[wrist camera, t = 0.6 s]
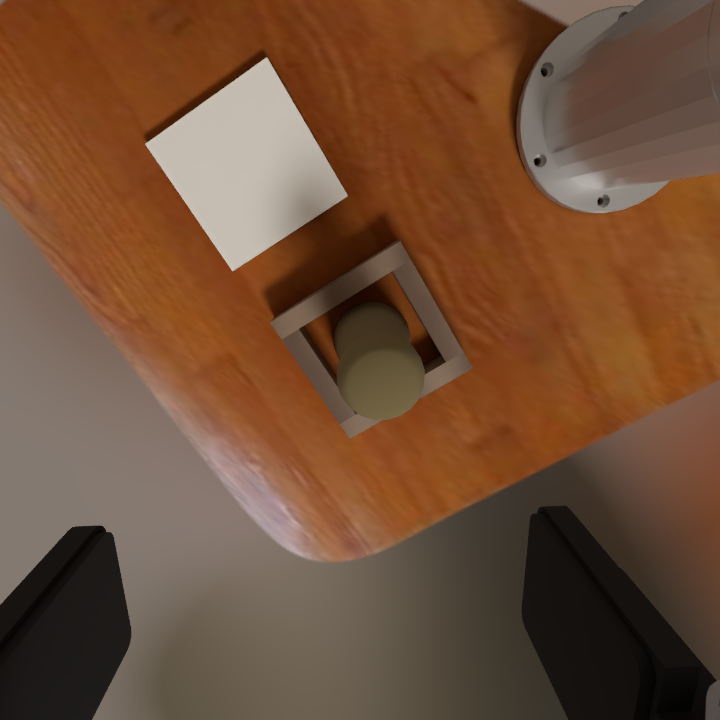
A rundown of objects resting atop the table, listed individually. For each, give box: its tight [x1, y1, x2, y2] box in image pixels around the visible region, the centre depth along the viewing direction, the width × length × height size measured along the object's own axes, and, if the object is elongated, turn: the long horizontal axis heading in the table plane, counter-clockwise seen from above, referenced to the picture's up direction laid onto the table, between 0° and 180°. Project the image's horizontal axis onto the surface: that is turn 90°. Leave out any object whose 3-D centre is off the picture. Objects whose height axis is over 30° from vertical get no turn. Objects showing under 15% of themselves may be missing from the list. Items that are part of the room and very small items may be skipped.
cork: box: [334, 302, 425, 420], centre depth 30 cm, size 6×6×11 cm
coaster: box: [145, 57, 348, 271], centre depth 32 cm, size 10×10×1 cm
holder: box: [270, 240, 472, 439], centre depth 35 cm, size 11×11×2 cm
